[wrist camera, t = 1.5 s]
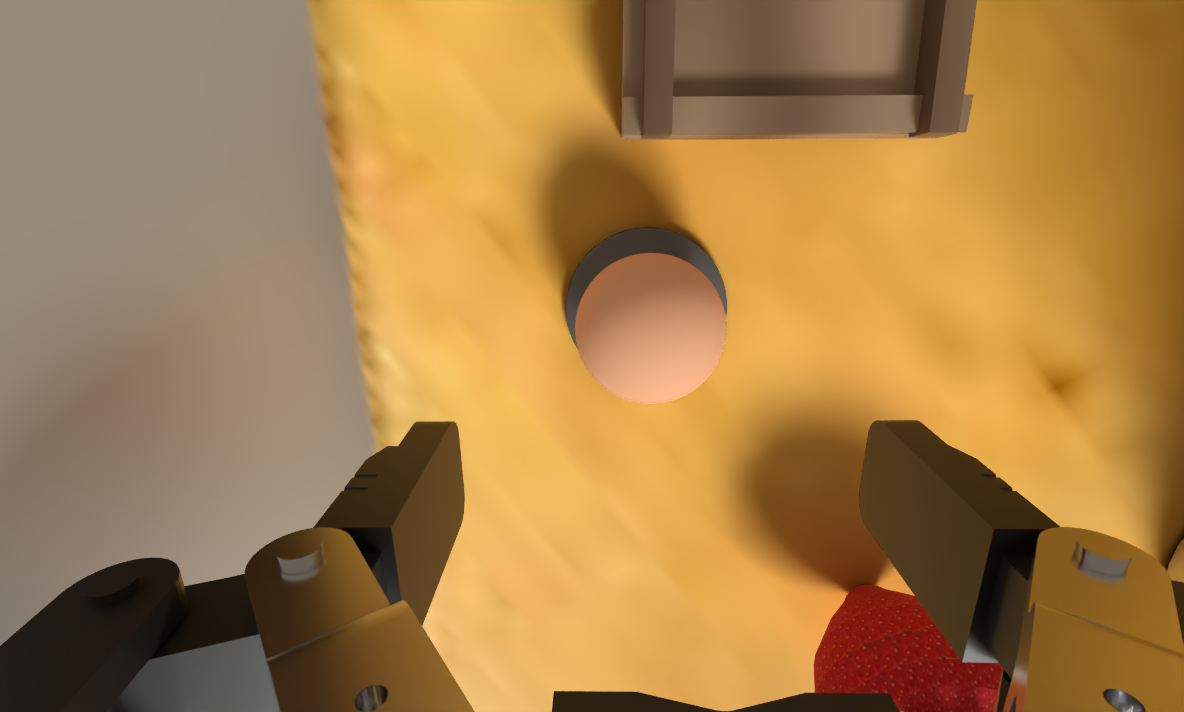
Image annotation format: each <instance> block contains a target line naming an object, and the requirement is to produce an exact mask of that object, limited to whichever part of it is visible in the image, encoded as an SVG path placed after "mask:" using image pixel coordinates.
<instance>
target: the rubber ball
mask: <svg viewBox="0 0 1184 712" xmlns="http://www.w3.org/2000/svg"><path fill="white" fill-rule="evenodd" d="M575 334H576V343H577V347H578V351H579V354H580V356H581V359H582V361H583V363H584V365H585V366H586V368H587V370H588V371H589V373H590V374H591V375H592V377H593V378H594V379H595V380H596V381H597V382H598V383H599V384H600V385H601V386H603V387H604V388H605V389H606V390H608V391H610V392H611V393H613V394H614V395H616V396H618V397H621V398H623V399H626V400H629V401H632V402H637V403H645V404H657V403H664V402H669V401H672V400H676V399H678V398H681V397H683V396H685V395H687V394H689V393H690V392H692V391H694V390H695V389H696V388H697V387H699V386H700V385H701V384H702V383H703V382H704V381H705V380H706V379H707V378H708V377H709V376H710V374H711V373H712V372H713V370H714V369H715V367H716V365H717V364H718V362H719V360H720V357H721V355H722V353H723V349H724V345H725V340H726V316H725V311H724V307H723V304H722V301H721V299H720V297H719V294H718V292H717V291H716V289H715V287H714V286H713V284H712V283H711V282H710V281H709V279H708V278H707V277H706V276H705V275H704V274H703V273H702V272H701V271H700V270H698V269H697V268H696V267H694V266H693V265H691V264H690V263H688V262H686V261H684V260H682V259H680V258H677V257H674V256H671V255H666V254H661V253H641V254H636V255H631V256H628V257H625V258H622V259H620V260H618V261H616V262H614V263H612V264H611V265H609V266H608V267H606V268H605V269H604V270H603V271H601V272H600V273H599V274H598V275H597V276H596V277H595V278H594V279H593V281H592V282H591V283H590V285H589V286H588V288H587V289H586V291H585V293H584V295H583V297H582V299H581V301H580V304H579V307H578V310H577V315H576V323H575Z"/></svg>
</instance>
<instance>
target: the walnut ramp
mask: <svg viewBox="0 0 1184 712" xmlns="http://www.w3.org/2000/svg"><path fill="white" fill-rule="evenodd" d="M976 2H977V0H623V54H622V105H621V137H622V140H679V139H885V138H939V137H943V136H948V135H952V134H957V133H958V132H966V130H967V125H968V120H969V114H970V109H971V104H972V98H973V95H964V90H965V82H966V75H967V68H968V60H969V53H970V46H971V39H972V31H973V24H974V17H975V9H976Z"/></svg>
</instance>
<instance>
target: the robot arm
mask: <svg viewBox="0 0 1184 712" xmlns="http://www.w3.org/2000/svg"><path fill="white" fill-rule="evenodd" d="M464 501H465V496H464V483H463V473H462V462H461V451H460V441H459V432H458V427H457V425H456V423H455V422H415V423H414V424H413V426H412V427H411V429H410V430H409V432H408V433H407V434H406V436H405V437H404V439H403V440H402V441H401V443H400V444H399V446H387V447H386V448H384V449H382V450H381V451H379V452H378V453H376V454H375V455H373V456H371V457H370V458H368V459H367V460H366V461H365V462H364V463H363V465H362V466H361V467H360V469H359V470H358V471H357V472H356V474H355V477H354V478H352V479H351V480H350V481H349V483H348V484H347V485H346V486H345V490H344V491H342V492H341V493H340V494H339V496H338V497H337V498H336V499H335V501H334V502H333V503H332V504H331V506H330V507H329V508H328V509H327V511H326V512H325V513H324V515H323V516H322V517H321V519H320V520H319V521H318V522H317V524H316V525H315V526H314V527H313V528H310V529H304V530H300V531H296V532H293V533H290V534H287V535H285V536H282V537H280V538H278V539H276V540H274V541H272V542H270V543H269V544H267V545H265V546H264V547H263V548H261V549H260V550H259V551H258V552H257V553H255V555H253V557H252V558H251V559H250V560H249V562H248V564H247V565H246V568H245V574H242V575H238V576H234V577H229V578H224V579H219V580H214V581H209V582H204V583H199V584H194V585H189V586H184V584H183V581H182V577H181V574H180V570H179V568H178V566H177V564H176V563H174V562H173V561H171V560H168V559H163V558H144V559H143V558H142V559H136V560H131V561H127V562H123V563H119V564H116V565H113V566H110V567H107V568H105V569H102V570H100V571H98V572H95V573H93V574H91V575H89V576H87V577H85V578H83V579H82V580H80V581H78V582H76V583H75V584H73V585H72V586H71V587H69V588H67V589H66V590H65V591H63V592H62V593H61V594H60V595H59V596H57V597H56V598H55V599H54V600H53V601H52V602H51V603H49V604H48V605H47V606H46V607H45V608H44V609H42V610H41V611H40V612H39V613H38V614H37V615H35V616H34V617H33V618H32V619H31V620H30V621H28V622H27V623H26V624H25V625H24V626H23V627H22V628H20V629H19V630H18V631H17V632H16V633H15V634H14V635H12V636H11V637H10V638H9V639H8V640H7V641H5V642H4V643H3V644H2V645H1V646H0V712H474V710H473V708H472V707H471V705H470V703H469V702H468V700H467V699H466V697H465V695H464V694H463V692H462V690H461V689H460V687H459V686H458V684H457V682H456V681H455V679H454V677H453V676H452V674H451V673H450V671H449V669H448V668H447V666H446V664H445V663H444V661H443V660H442V658H441V656H440V655H439V653H438V651H437V650H436V648H435V647H434V645H433V643H432V642H431V640H430V638H429V637H428V635H427V634H426V632H425V630H424V629H423V627H422V625H423V622H424V620H425V617H426V615H427V612H428V609H429V607H430V604H431V602H432V599H433V597H434V594H435V591H436V589H437V586H438V584H439V581H440V578H441V576H442V573H443V571H444V568H445V565H446V563H447V560H448V558H449V555H450V553H451V550H452V547H453V545H454V542H455V540H456V537H457V534H458V532H459V529H460V527H461V524H462V520H463V514H464ZM859 505H860V512H861V516H862V519H863V521H864V523H865V525H866V527H867V528H868V530H869V531H870V533H871V534H872V536H873V537H874V538H875V540H876V541H877V543H878V544H879V545H880V547H881V548H882V550H883V551H884V552H885V554H886V555H887V557H888V558H889V560H890V561H891V562H892V564H893V565H894V567H895V568H896V569H897V571H898V572H899V574H900V575H901V577H902V578H903V579H904V581H905V582H906V584H907V585H908V586H909V588H910V589H911V591H912V592H913V593H914V595H915V596H916V598H917V599H918V601H919V602H920V603H921V605H922V606H923V608H924V609H925V610H926V612H927V613H928V615H929V616H930V618H931V619H932V620H933V622H934V623H935V625H936V626H937V627H938V629H939V630H940V632H941V633H942V634H943V636H944V637H945V639H946V640H947V642H948V643H949V644H950V646H951V647H952V649H953V650H954V651H955V653H956V654H957V656H958V657H959V659H960V660H961V661H962V662H974V663H999V664H1000V665H1001V667H1002V668H1003V670H1002V674H1001V678H1000V682H999V685H998V689H997V695H996V701H995V707H994V712H1184V538H1183V540H1182V541H1181V542H1180V544H1179V545H1178V547H1177V549H1176V551H1175V553H1174V555H1173V557H1172V559H1171V561H1170V563H1169V566H1168V570H1166V569H1165V568H1164V567H1163V566H1162V565H1161V564H1160V563H1159V562H1158V561H1157V560H1156V559H1154V558H1153V557H1152V556H1150V555H1149V554H1147V553H1146V552H1144V551H1142V550H1141V549H1139V548H1137V547H1135V546H1133V545H1131V544H1129V543H1126V542H1124V541H1122V540H1119V539H1117V538H1114V537H1112V536H1108V535H1105V534H1102V533H1099V532H1095V531H1091V530H1086V529H1080V528H1072V527H1060V526H1059V525H1057V524H1056V523H1055V522H1054V521H1052V520H1051V519H1050V518H1049V517H1047V516H1046V515H1045V514H1044V513H1043V512H1041V511H1040V510H1039V509H1038V508H1036V507H1035V506H1034V505H1033V504H1031V503H1030V502H1029V501H1028V500H1027V499H1025V498H1024V497H1023V496H1022V495H1020V494H1019V493H1018V492H1017V491H1012V487H1011V486H1009V485H1008V484H1007V483H1006V482H1004V481H1003V480H1002V479H1001V478H996V474H995V473H993V472H992V471H991V470H990V469H988V468H987V467H986V466H985V465H984V464H982V463H981V462H980V461H979V460H977V459H976V458H974V457H972V456H970V455H968V454H966V453H964V452H961V451H959V450H957V449H955V448H953V447H951V446H949V445H947V444H946V443H945V442H944V441H942V440H941V439H940V438H939V437H938V436H936V435H935V434H934V433H933V432H932V431H931V430H929V429H928V428H927V427H926V426H925V425H923V424H922V423H921V422H919V421H917V420H890V421H874V422H873V423H872V425H871V427H870V429H869V432H868V438H867V444H866V451H865V458H864V464H863V471H862V478H861V484H860V491H859ZM552 712H899V710H898V708H897V706H896V704H895V702H894V701H893V699H892V697H891V695H890V693H804V694H799V695H795V696H791V697H787V698H783V699H779V700H775V701H771V702H767V703H762V704H758V705H754V706H750V707H746V708H742V709H738V710H734V711H717V710H712V709H708V708H703V707H699V706H695V705H690V704H686V703H682V702H677V701H673V700H669V699H664V698H660V697H656V696H652V695H647V694H643V693H639V692H585V691H554V696H553V707H552Z"/></svg>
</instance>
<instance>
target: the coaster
mask: <svg viewBox="0 0 1184 712" xmlns="http://www.w3.org/2000/svg"><path fill="white" fill-rule="evenodd" d="M641 253H661V254H666V255H671V256H674V257H677V258H680V259H682V260H684V261H686V262H688V263H690V264H691V265H693V266H694V267H696V268H697V269H698V270H700V271H701V272H702V273H703V274H704V275H705V276H706V277H707V278H708V279H709V281H710V282H711V283H712V284H713V286H714V287H715V289H716V291H717V292H718V294H719V297H720V299H721V301H722V304H723V307H724V311H725V316H726V313H727V298H726V290H725V287H724V283H723V280H722V277H721V275H720V273H719V271H718V269H717V267H716V266H715V264H714V262H713V261H712V260H711V259H710V257H709V256H708V255H707V254H706V253H705V252H704V251H703V250H702V249H701V248H700V247H699V246H698V245H697V244H695V243H694V242H692V241H691V240H690V239H688V238H686V237H684V236H682V235H680V234H678V233H675V232H672V231H669V230H665V229H660V228H635V229H630V230H626V231H623V232H620V233H617V234H615V235H613V236H611V237H609V238H607V239H605V240H604V241H602V242H601V243H599V244H598V245H596V246H595V247H594V248H593V249H592V250H591V251H590V252H589V253H588V254H587V255H586V256H585V257H584V259H583V260H582V261H581V263H580V264H579V266H578V267H577V269H576V271H575V273H574V275H573V277H572V280H571V283H570V286H569V289H568V294H567V300H566V316H567V323H568V327H569V331H570V334H571V336H572V339H573V341H574V343H575V345H576V347H577V343H576V334H575V323H576V315H577V310H578V307H579V304H580V301H581V299H582V297H583V295H584V293H585V291H586V289H587V288H588V286H589V285H590V283H591V282H592V281H593V279H594V278H595V277H596V276H597V275H598V274H599V273H600V272H601V271H603V270H604V269H605V268H606V267H608V266H609V265H611V264H612V263H614V262H616V261H618V260H620V259H622V258H625V257H628V256H631V255H636V254H641ZM577 348H578V347H577Z"/></svg>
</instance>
